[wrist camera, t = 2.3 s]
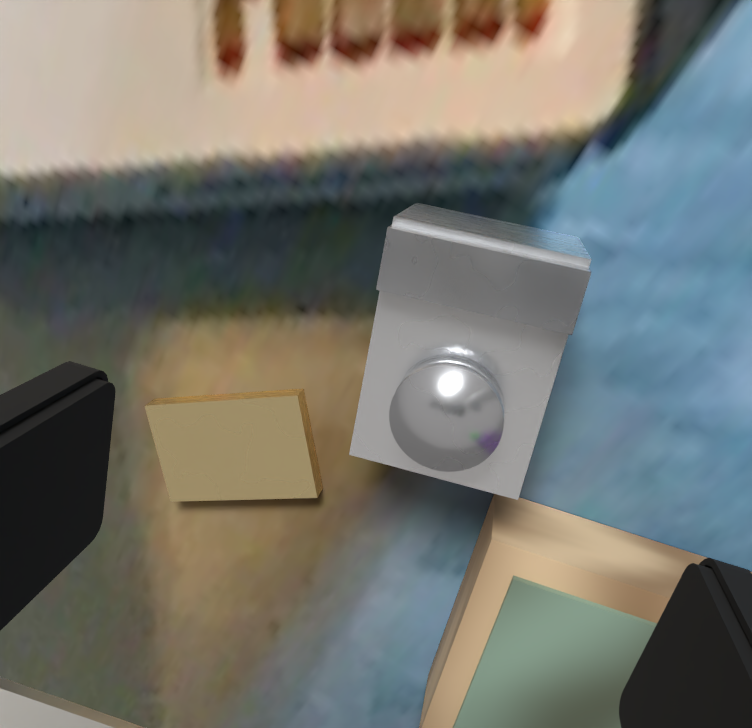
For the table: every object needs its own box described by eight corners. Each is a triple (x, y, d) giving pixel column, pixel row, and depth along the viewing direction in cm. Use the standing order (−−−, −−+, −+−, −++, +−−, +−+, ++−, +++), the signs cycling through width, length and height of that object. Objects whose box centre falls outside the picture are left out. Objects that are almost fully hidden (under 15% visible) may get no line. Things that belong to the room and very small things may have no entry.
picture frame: (818, 593, 21) (866, 667, 18) (703, 773, 25) (729, 860, 22) (495, 489, 22) (491, 543, 20) (428, 674, 26) (416, 744, 23)
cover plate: (308, 383, 23) (297, 395, 22) (326, 481, 24) (317, 497, 23) (161, 394, 25) (144, 405, 24) (185, 486, 26) (170, 501, 25)
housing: (417, 202, 20) (385, 221, 15) (577, 236, 19) (595, 266, 15) (377, 402, 23) (340, 470, 18) (518, 439, 22) (517, 519, 17)
